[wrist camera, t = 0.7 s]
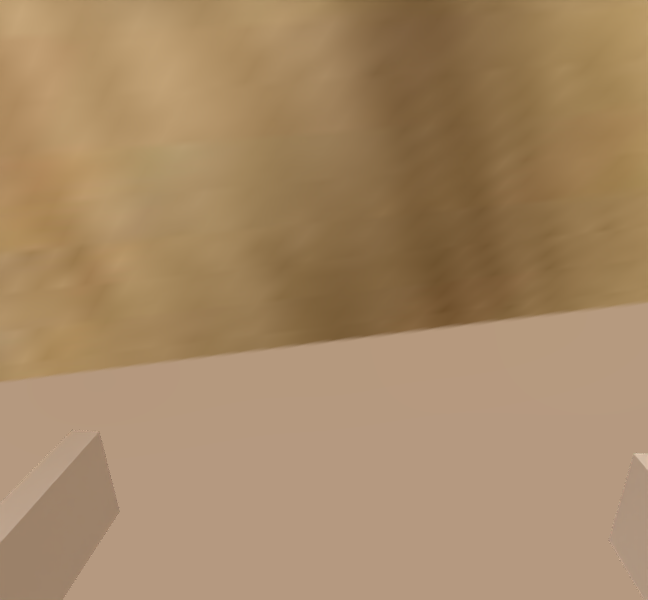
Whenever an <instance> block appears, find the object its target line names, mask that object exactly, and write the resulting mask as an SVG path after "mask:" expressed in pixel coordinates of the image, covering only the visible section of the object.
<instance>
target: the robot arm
mask: <svg viewBox="0 0 648 600" xmlns="http://www.w3.org/2000/svg"><path fill="white" fill-rule="evenodd" d="M118 513H119V507H118V503H117V499H116V495H115V491H114V487H113V483H112V479H111V475H110V472H109V468H108V464H107V460H106V456H105V452H104V448H103V444H102V440H101V436H100V432H99V431H77V430H71V431H70V432H69V434H68V435H67V436H66V437H65V438H64V439H63V440H62V441H61V442H60V443H59V444H58V445H57V446H56V447H55V448H54V449H53V450H52V451H51V452H50V453H49V454H48V455H47V456H46V457H45V458H44V459H43V460H42V461H41V462H40V463H39V464H38V465H37V466H36V467H35V468H34V469H33V470H32V471H31V472H30V473H29V474H28V475H27V476H26V477H25V478H24V479H23V480H22V481H21V482H20V483H19V484H18V485H17V486H16V487H15V488H14V489H13V490H12V491H11V492H10V493H9V494H8V495H7V497H5V498H4V500H3V501H2V502H1V503H0V600H63V598H64V597H65V595H66V593H67V592H68V590H69V589H70V587H71V586H72V584H73V583H74V581H75V580H76V578H77V576H78V575H79V573H80V572H81V570H82V569H83V567H84V566H85V564H86V563H87V561H88V560H89V558H90V556H91V555H92V553H93V552H94V550H95V549H96V547H97V545H98V544H99V542H100V541H101V539H102V538H103V536H104V535H105V533H106V532H107V530H108V529H109V527H110V526H111V524H112V523H113V521H114V519H115V518H116V516H117V515H118ZM609 542H610V544H611V545H612V547H613V548H614V550H615V552H616V554H617V555H618V557H619V559H620V561H621V562H622V564H623V566H624V567H625V569H626V571H627V572H628V574H629V575H630V578H631V579H632V581H633V583H634V584H635V586H636V588H637V589H638V591H639V593H640V595H641V596H642V598H643V600H648V454H635V453H634V454H633V458H632V461H631V464H630V468H629V471H628V475H627V478H626V482H625V485H624V489H623V493H622V496H621V499H620V503H619V506H618V510H617V513H616V517H615V520H614V524H613V527H612V530H611V534H610V537H609Z"/></svg>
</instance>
